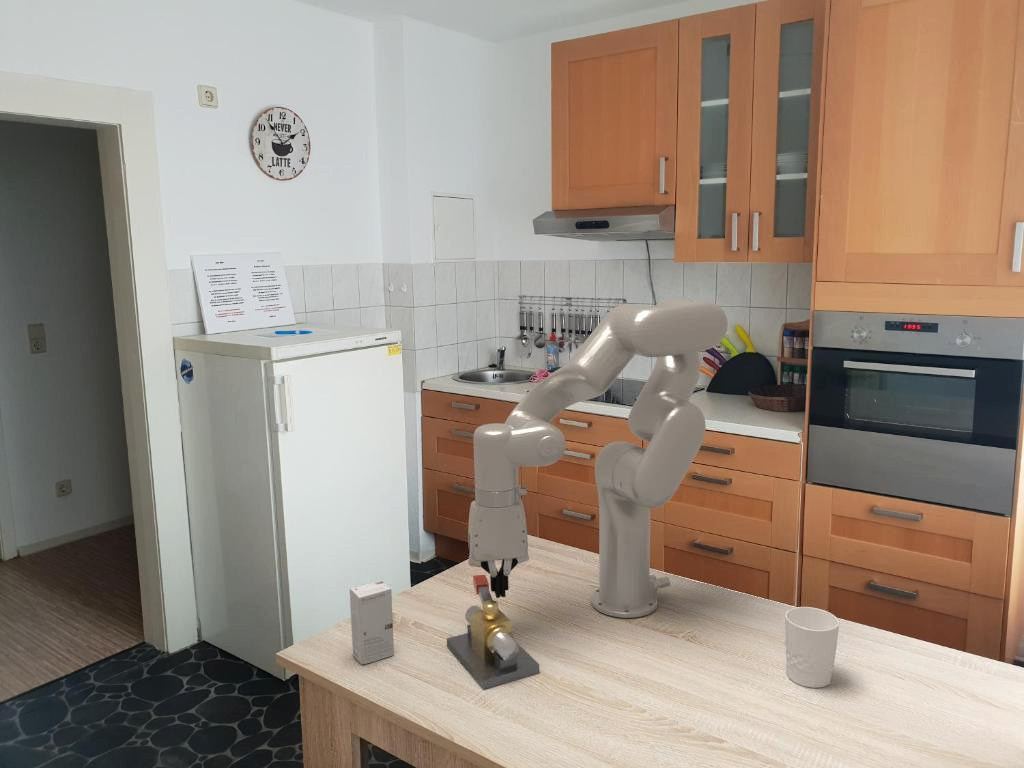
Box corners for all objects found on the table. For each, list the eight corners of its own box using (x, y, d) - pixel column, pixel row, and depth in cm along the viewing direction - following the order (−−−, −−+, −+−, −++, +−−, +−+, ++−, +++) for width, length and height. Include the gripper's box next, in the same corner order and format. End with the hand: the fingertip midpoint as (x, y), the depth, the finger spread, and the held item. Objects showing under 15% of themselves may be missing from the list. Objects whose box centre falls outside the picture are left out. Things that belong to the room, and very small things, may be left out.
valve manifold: (498, 632, 140) (497, 593, 139) (539, 672, 127) (538, 630, 126) (447, 646, 136) (445, 606, 134) (483, 689, 123) (482, 645, 121)
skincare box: (362, 666, 130) (358, 598, 128) (351, 654, 134) (347, 588, 132) (396, 655, 133) (392, 588, 131) (385, 644, 137) (381, 579, 135)
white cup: (834, 667, 127) (837, 610, 125) (836, 694, 120) (840, 634, 118) (782, 660, 130) (785, 603, 128) (782, 685, 122) (785, 626, 120)
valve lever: (499, 618, 129) (499, 606, 129) (484, 620, 128) (483, 608, 128) (486, 584, 142) (486, 573, 141) (472, 585, 141) (471, 574, 141)
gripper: (534, 485, 141) (536, 581, 144) (451, 492, 138) (455, 589, 141) (543, 498, 133) (545, 599, 137) (456, 506, 131) (460, 608, 134)
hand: (499, 594), depth 139 cm, fingers closed
